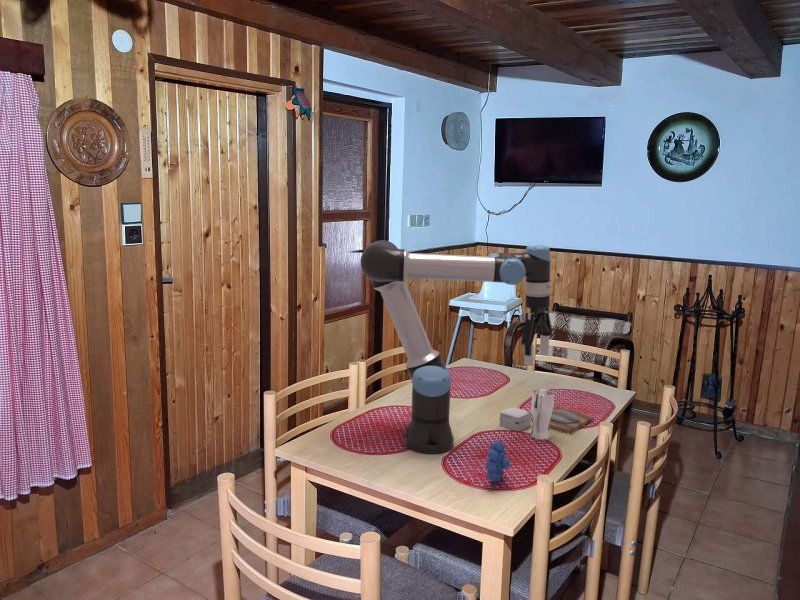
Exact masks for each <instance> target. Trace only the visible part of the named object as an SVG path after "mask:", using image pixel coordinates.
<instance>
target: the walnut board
mask: <svg viewBox="0 0 800 600" xmlns="http://www.w3.org/2000/svg"><path fill="white" fill-rule="evenodd" d="M594 419H595V418H594V415H589V414H586V413H583V412H579V411H574V410H571V409H567V408H563V407H560V406H556V407H553V413H552V417H551V421H550V425H549V429H550V428H551V429H550V430H553V429H554V431H557V430H558V431H557V432H560V431H561V433H564V432H565V434H567V433H569V434H568V435H571V434H573V433H575V432H576V430H577V431H579V430H580V429H581V427H582V426H583V427H585V426H586V425H585V424H587V423H588V422H590V421H592V420H593V421H594ZM593 421H592V422H593ZM532 423H533V422H532V421H531V424H532ZM590 423H591V422H590ZM588 424H589V423H588ZM588 424H587V425H588ZM584 425H585V426H584ZM583 427H582V428H583ZM579 428H580V429H579ZM574 431H575V432H574ZM572 432H573V433H572Z"/></svg>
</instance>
